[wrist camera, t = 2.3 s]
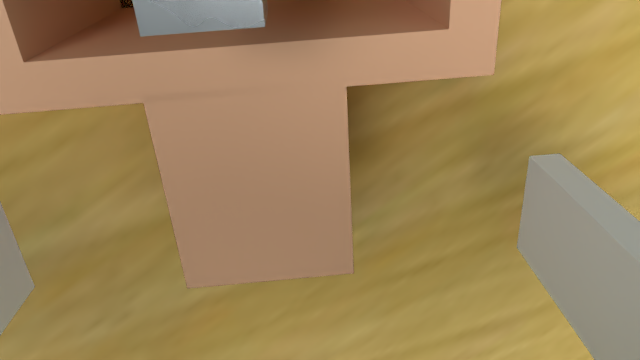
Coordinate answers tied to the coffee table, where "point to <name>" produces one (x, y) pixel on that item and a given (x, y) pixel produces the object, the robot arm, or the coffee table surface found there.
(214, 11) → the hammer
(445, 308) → the coffee table surface
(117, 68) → the salmon open box
